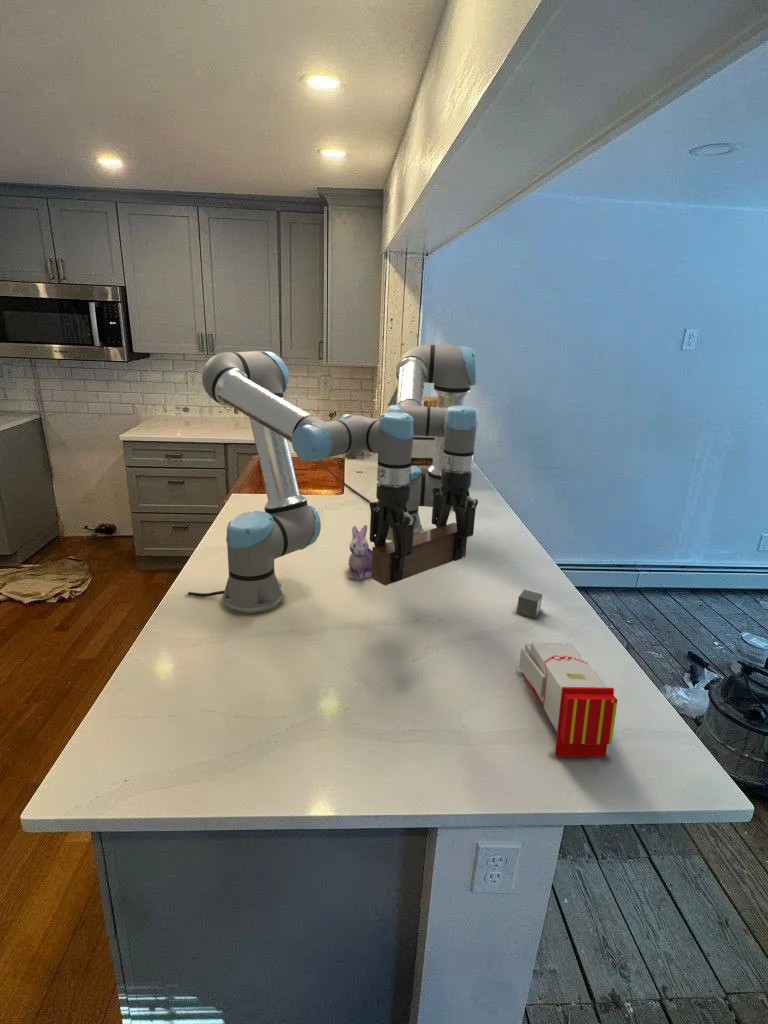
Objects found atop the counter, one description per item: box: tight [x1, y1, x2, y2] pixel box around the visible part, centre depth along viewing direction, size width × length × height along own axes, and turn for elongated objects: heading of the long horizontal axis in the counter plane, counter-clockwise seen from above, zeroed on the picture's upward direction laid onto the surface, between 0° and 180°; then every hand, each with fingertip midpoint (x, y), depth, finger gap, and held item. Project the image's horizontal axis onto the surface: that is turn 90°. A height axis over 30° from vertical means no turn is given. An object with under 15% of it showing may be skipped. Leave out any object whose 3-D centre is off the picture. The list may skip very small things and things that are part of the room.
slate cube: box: [516, 588, 543, 619], centre depth 151 cm, size 5×5×5 cm
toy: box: [518, 642, 618, 758], centre depth 113 cm, size 12×13×30 cm
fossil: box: [344, 450, 365, 459], centre depth 303 cm, size 22×10×15 cm
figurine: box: [347, 524, 372, 580], centre depth 166 cm, size 9×10×15 cm
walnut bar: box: [370, 522, 468, 587], centre depth 140 cm, size 5×28×8 cm, turn 131°
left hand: (388, 576), depth 135 cm, fingers closed on walnut bar, 5 cm apart
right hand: (449, 555), depth 148 cm, fingers closed on walnut bar, 5 cm apart
